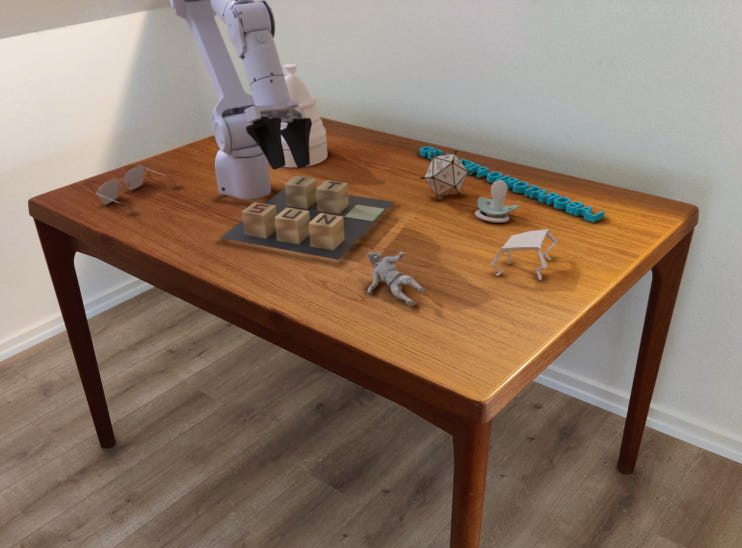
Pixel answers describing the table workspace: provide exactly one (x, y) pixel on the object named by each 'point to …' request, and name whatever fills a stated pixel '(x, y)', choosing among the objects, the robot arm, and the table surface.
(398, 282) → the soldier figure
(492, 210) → the pacifier
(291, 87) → the honey pot
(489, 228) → the table surface
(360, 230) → the letter board
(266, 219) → the block
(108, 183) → the eyeglasses
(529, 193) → the text ornament
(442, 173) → the game die
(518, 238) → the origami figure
